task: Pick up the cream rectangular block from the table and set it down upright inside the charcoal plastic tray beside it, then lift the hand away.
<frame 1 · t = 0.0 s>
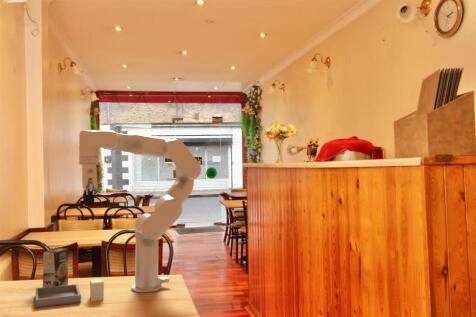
hand: (88, 203, 179), 37 cm above the table, tool pointing down, fingers open, 9 cm apart
tray: (57, 299, 173), on the table
cream rectangular block: (96, 298, 175), on the table
coffee box: (55, 288, 188), on the table
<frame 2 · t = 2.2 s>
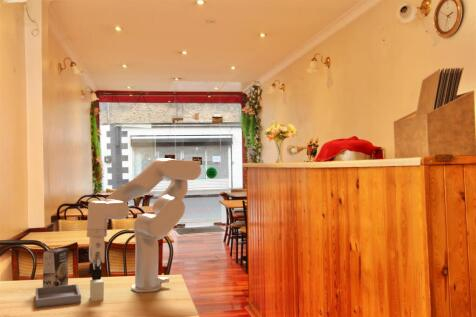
hand: (94, 276, 174), 9 cm above the table, tool pointing down, fingers open, 9 cm apart
nothing on the table moved.
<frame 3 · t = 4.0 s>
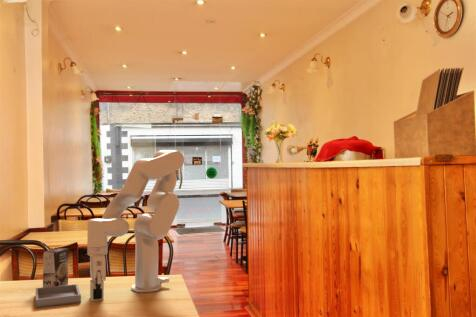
hand: (96, 296, 175), 1 cm above the table, tool pointing down, fingers closed on cream rectangular block, 4 cm apart
cream rectangular block: (96, 298, 175), on the table, touching gripper
everything else where it was.
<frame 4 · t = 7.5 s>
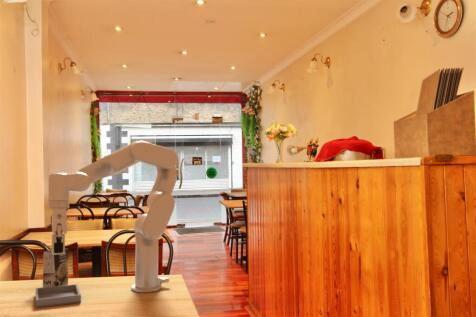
hand: (58, 251, 173), 19 cm above the table, tool pointing down, fingers closed on cream rectangular block, 4 cm apart
cream rectangular block: (58, 253, 173), point 18 cm above the table, touching gripper
everything else where it was.
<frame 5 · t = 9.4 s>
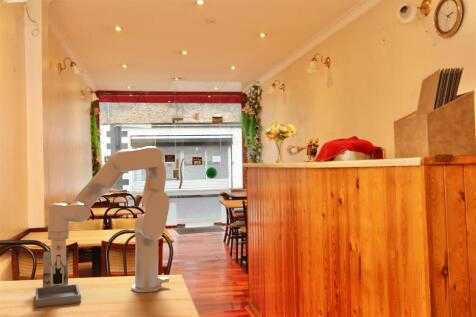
hand: (57, 281, 173), 7 cm above the table, tool pointing down, fingers closed on cream rectangular block, 4 cm apart
cream rectangular block: (57, 283, 173), point 6 cm above the table, touching gripper
everything else where it was.
when the fingers open (3 cm above the table, at t = 11.0 s): cream rectangular block drops 2 cm, resting on tray.
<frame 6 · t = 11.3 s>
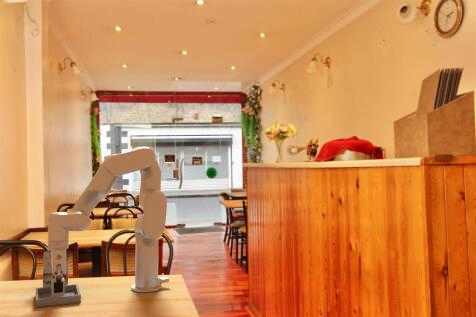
hand: (57, 289, 173), 4 cm above the table, tool pointing down, fingers open, 7 cm apart
cream rectangular block: (57, 297, 173), point 1 cm above the table, touching tray
everything else where it was.
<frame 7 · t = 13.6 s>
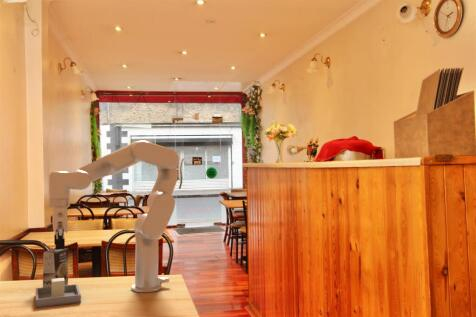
hand: (59, 246, 174), 20 cm above the table, tool pointing down, fingers open, 9 cm apart
nothing on the table moved.
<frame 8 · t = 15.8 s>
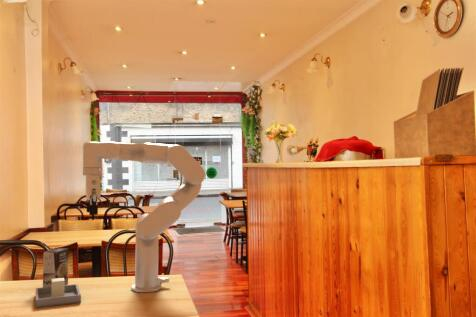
hand: (92, 213, 183), 32 cm above the table, tool pointing down, fingers open, 9 cm apart
nothing on the table moved.
at the end: cream rectangular block inside the target area on the tray (0.0 cm from its centre), point 0.6 cm above the tray's base; cream rectangular block tilted 0°; the gripper is holding nothing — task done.
